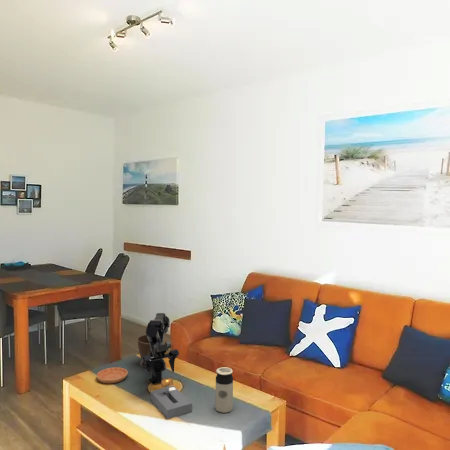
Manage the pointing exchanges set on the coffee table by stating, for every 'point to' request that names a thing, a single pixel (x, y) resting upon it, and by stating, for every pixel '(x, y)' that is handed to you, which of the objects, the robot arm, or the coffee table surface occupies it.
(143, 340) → the plant pot
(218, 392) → the travel mug
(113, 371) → the saucer
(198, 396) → the coffee table surface
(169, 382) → the lever handle
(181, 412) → the block
